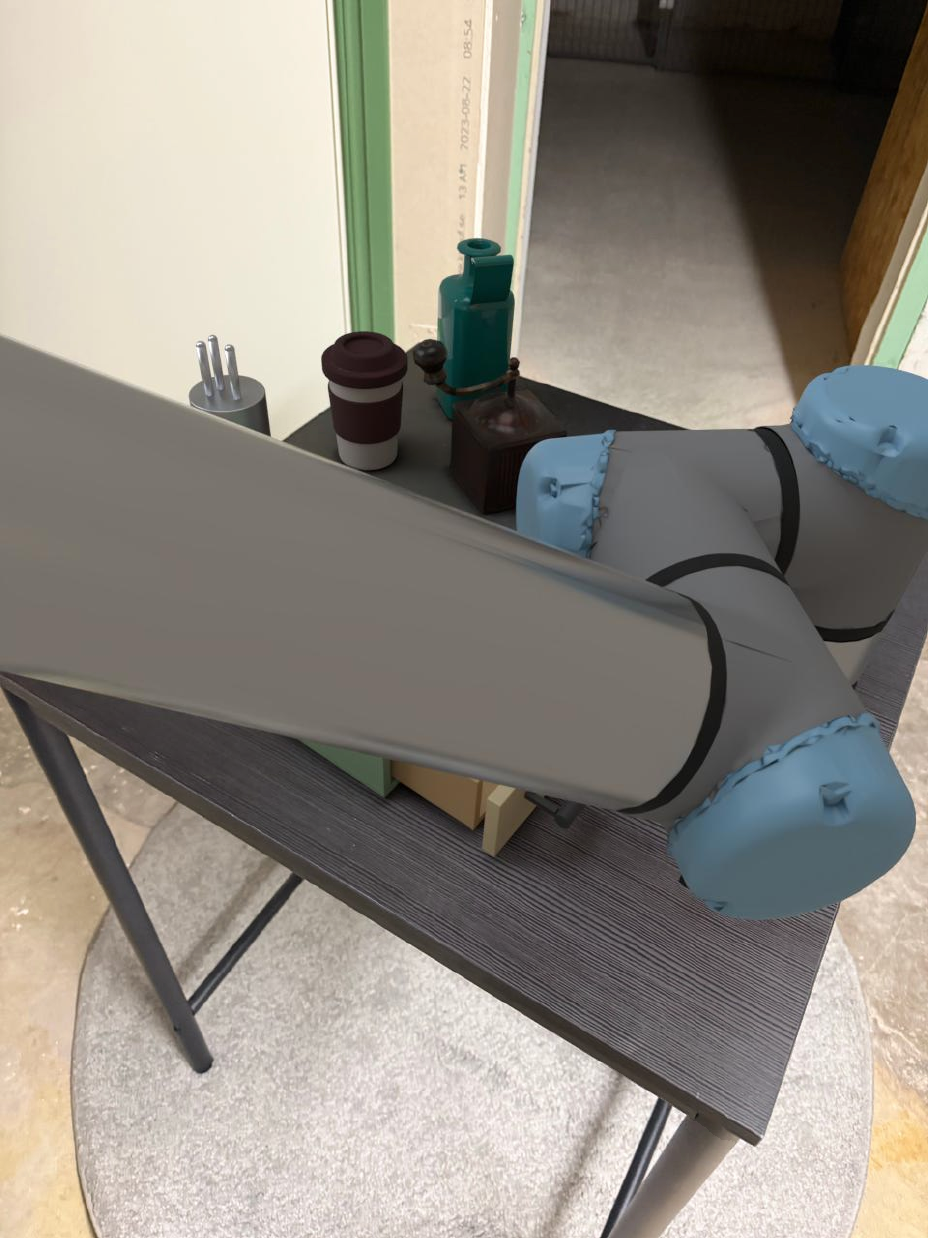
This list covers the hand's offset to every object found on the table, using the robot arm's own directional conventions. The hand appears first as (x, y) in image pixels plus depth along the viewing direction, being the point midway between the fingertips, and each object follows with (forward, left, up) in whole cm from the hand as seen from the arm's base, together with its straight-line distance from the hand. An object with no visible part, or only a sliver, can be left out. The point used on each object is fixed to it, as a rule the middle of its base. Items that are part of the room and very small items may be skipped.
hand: (695, 874), depth 64 cm
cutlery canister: (+6, +53, -3) cm, 53 cm away
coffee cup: (+31, +59, -4) cm, 67 cm away
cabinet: (0, +32, -4) cm, 32 cm away
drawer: (0, +19, -3) cm, 19 cm away
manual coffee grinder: (+35, +44, -4) cm, 56 cm away
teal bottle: (+49, +56, -4) cm, 74 cm away
